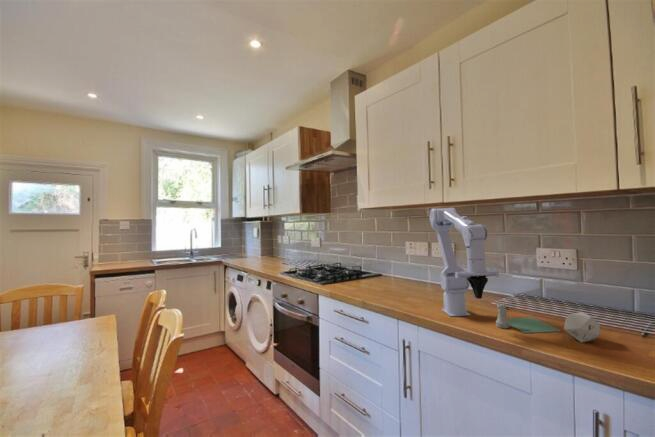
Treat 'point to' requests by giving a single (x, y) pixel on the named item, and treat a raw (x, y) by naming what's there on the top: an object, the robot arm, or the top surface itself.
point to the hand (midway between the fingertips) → (478, 297)
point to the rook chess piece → (502, 316)
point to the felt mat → (531, 325)
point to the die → (582, 327)
